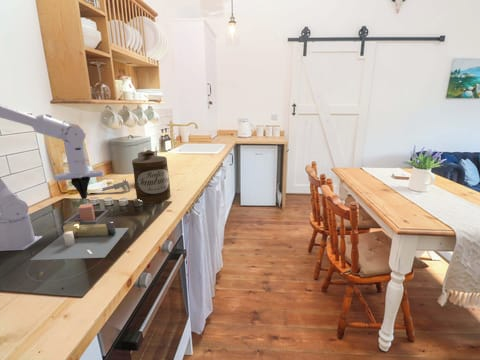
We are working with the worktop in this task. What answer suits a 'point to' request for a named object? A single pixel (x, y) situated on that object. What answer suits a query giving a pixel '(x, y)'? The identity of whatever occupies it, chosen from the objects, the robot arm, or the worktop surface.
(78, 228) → the crank
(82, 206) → the block
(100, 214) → the tray
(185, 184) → the worktop surface
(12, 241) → the robot arm
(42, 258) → the board
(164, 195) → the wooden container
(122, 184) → the caliper
